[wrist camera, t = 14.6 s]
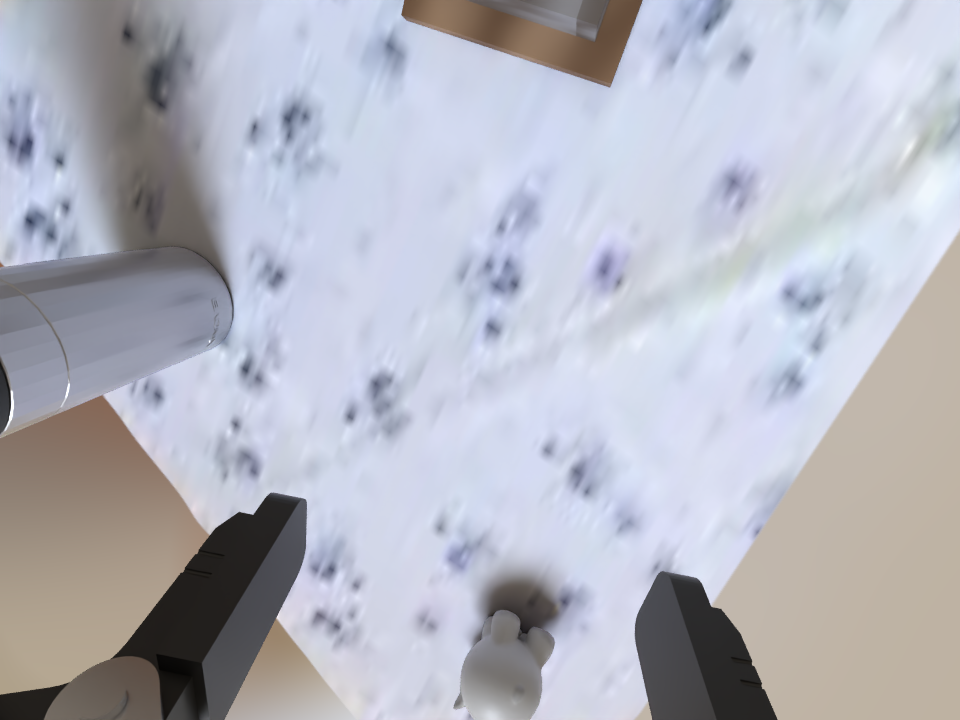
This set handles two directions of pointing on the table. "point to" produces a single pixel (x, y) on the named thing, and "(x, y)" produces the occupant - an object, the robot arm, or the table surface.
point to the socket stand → (539, 30)
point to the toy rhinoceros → (504, 670)
